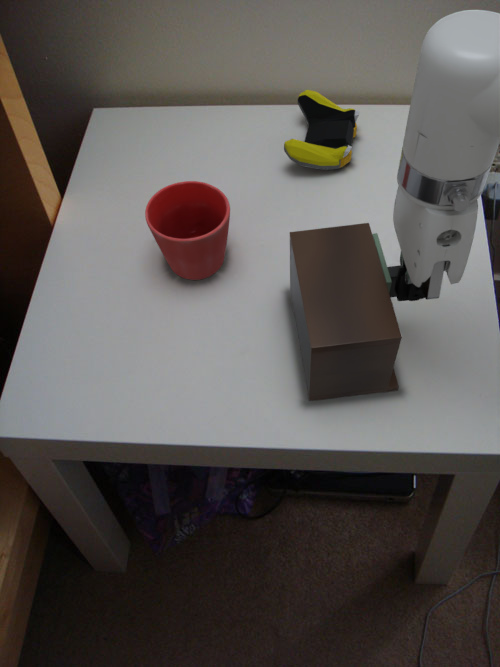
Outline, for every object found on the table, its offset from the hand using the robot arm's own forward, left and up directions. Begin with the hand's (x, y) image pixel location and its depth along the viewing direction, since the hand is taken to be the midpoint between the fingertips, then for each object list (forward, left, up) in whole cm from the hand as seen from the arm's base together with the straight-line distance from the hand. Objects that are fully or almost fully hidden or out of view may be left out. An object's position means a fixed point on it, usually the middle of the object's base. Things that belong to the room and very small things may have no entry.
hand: (409, 294), depth 67 cm
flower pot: (+24, -17, -9) cm, 31 cm away
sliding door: (0, -5, -8) cm, 9 cm away
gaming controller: (+3, -37, -9) cm, 38 cm away
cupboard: (+7, -1, -9) cm, 12 cm away
